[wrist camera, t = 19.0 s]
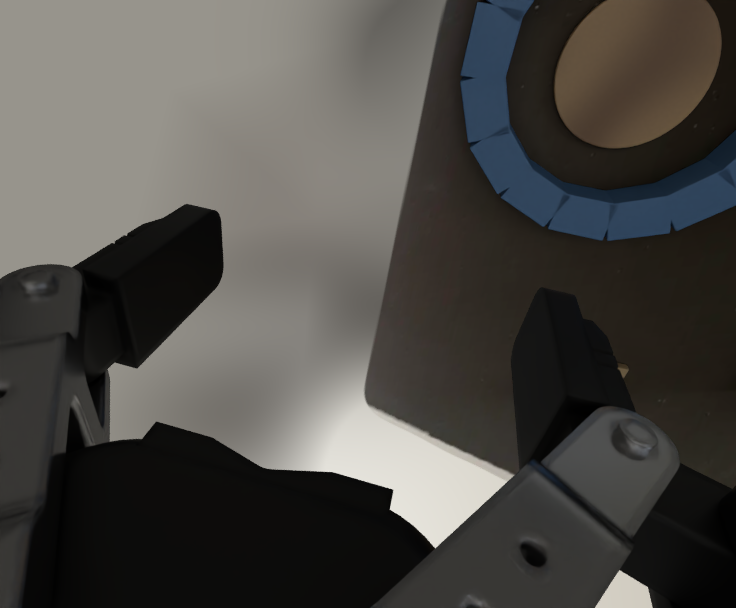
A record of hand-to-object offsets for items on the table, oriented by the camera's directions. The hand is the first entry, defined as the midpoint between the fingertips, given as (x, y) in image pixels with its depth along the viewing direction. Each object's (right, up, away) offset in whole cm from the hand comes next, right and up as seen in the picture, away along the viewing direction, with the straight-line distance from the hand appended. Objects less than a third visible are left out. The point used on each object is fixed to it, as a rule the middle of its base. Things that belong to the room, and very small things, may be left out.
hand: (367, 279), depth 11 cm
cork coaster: (+18, +15, +19) cm, 31 cm away
